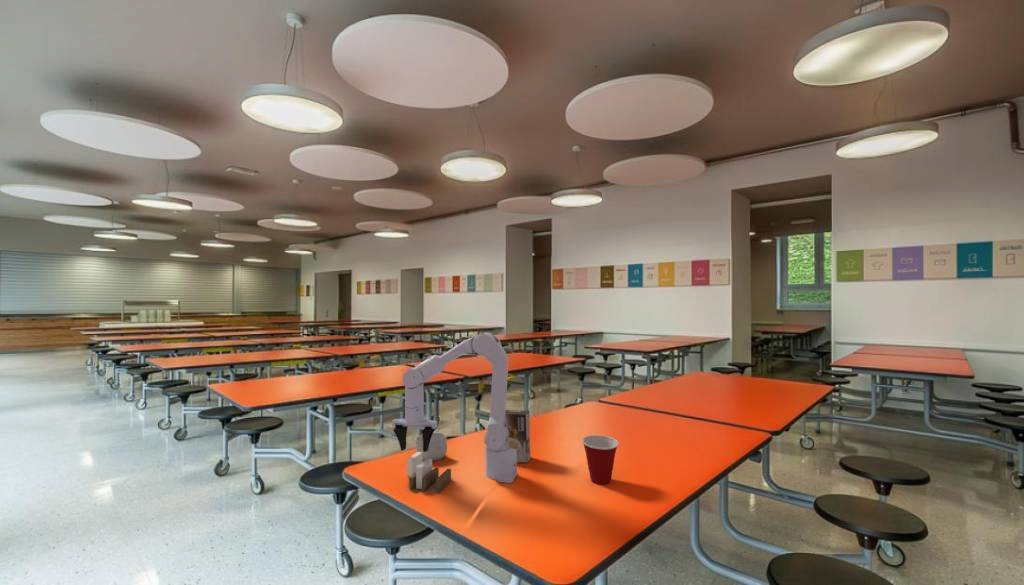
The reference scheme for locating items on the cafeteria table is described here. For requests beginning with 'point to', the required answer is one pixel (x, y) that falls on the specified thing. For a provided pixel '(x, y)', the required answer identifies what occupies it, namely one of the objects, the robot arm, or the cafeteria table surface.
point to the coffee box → (519, 433)
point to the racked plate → (422, 471)
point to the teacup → (433, 446)
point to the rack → (431, 481)
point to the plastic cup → (600, 457)
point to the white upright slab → (413, 463)
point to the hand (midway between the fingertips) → (414, 450)
